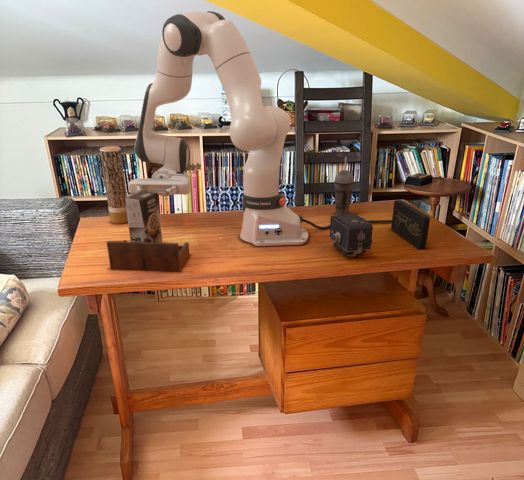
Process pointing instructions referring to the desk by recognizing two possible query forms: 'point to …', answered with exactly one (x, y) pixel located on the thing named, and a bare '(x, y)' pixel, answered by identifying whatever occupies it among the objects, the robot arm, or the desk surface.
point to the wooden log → (114, 183)
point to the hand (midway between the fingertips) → (153, 192)
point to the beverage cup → (343, 190)
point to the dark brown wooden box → (147, 255)
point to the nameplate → (410, 223)
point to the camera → (351, 233)
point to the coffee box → (144, 217)
